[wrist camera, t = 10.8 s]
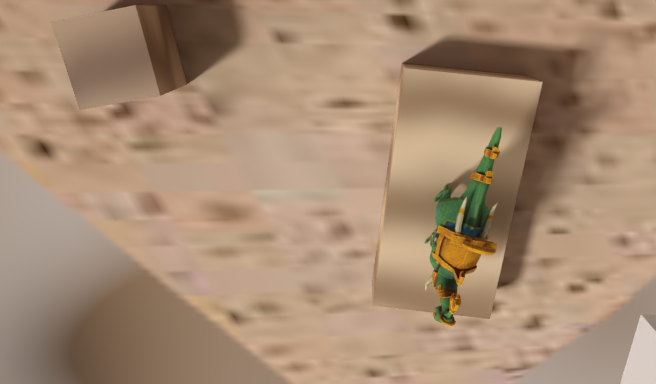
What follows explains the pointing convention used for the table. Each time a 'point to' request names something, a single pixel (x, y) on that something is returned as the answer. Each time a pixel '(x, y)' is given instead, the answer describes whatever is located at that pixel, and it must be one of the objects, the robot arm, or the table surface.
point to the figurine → (461, 234)
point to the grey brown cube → (120, 55)
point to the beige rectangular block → (449, 177)
